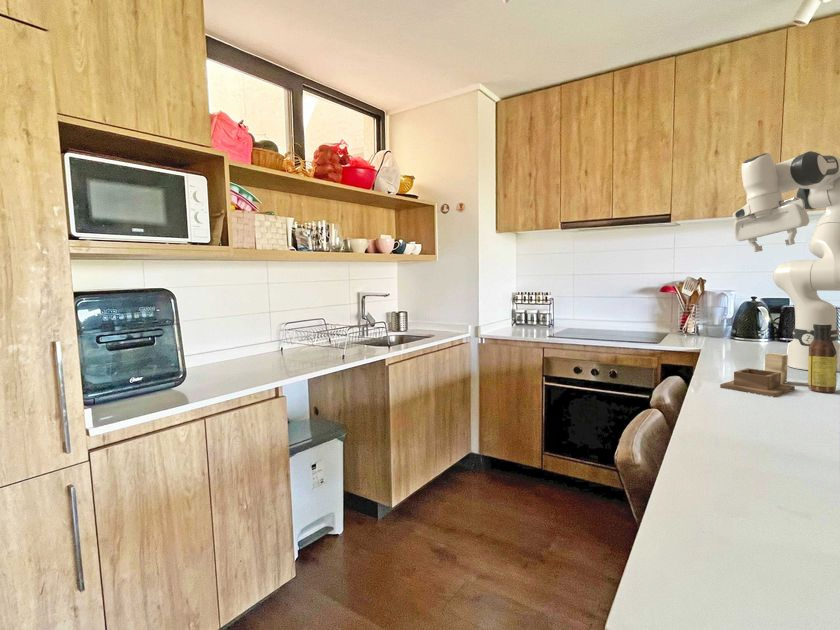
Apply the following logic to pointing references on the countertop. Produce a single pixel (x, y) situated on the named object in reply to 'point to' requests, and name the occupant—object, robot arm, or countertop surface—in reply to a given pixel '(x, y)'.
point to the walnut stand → (757, 382)
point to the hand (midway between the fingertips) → (774, 248)
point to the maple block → (777, 364)
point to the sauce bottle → (822, 360)
